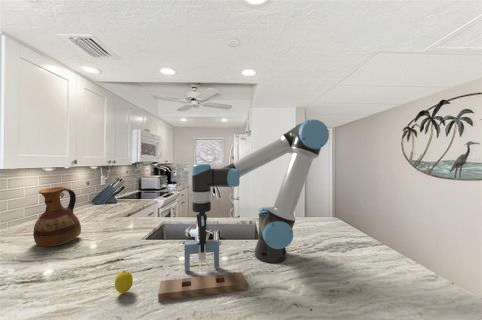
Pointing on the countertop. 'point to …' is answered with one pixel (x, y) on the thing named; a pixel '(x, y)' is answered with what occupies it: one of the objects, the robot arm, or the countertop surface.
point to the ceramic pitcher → (56, 219)
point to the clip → (194, 249)
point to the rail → (201, 286)
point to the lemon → (123, 282)
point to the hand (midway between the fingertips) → (201, 257)
